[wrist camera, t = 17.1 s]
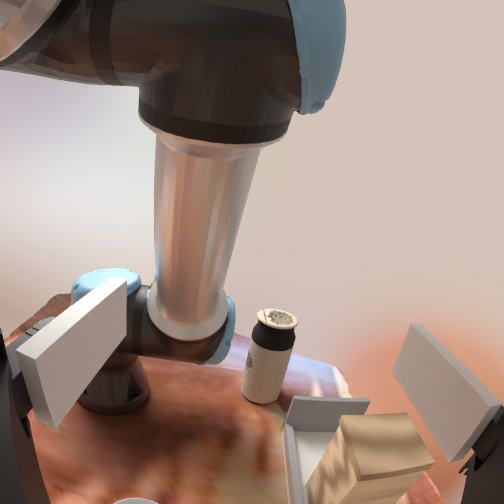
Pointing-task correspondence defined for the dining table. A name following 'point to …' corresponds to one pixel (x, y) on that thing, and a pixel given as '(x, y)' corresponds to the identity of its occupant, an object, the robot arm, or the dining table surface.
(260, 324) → the travel mug
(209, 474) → the dining table surface
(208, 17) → the robot arm
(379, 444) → the wooden block
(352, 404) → the bay
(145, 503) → the canned food
